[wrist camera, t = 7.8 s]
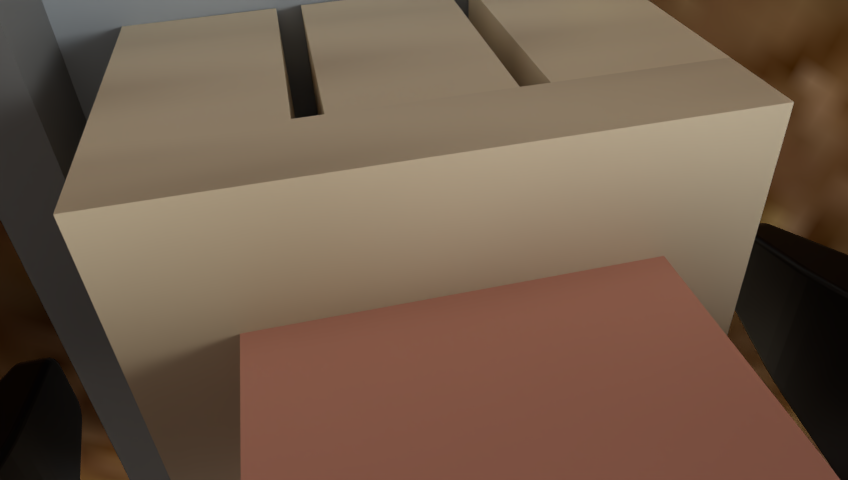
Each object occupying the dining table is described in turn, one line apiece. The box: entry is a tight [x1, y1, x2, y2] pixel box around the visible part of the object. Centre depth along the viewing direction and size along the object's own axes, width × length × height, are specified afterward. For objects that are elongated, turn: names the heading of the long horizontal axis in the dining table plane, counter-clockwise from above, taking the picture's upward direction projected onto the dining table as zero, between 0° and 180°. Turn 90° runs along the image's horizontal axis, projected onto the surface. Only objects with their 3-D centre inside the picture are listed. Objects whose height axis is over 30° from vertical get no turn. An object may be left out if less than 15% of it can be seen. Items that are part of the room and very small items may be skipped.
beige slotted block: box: [53, 0, 794, 480], centre depth 9 cm, size 7×6×4 cm
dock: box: [0, 0, 469, 480], centre depth 11 cm, size 11×8×4 cm
